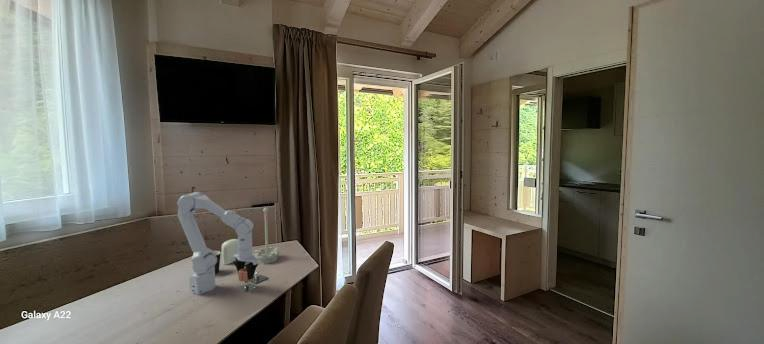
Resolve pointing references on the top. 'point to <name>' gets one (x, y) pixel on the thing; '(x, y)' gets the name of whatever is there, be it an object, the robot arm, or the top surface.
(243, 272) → the ring
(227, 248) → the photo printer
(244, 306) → the top surface
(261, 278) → the square peg base
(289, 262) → the top surface
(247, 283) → the stand
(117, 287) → the top surface
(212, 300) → the top surface
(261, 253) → the flag stand
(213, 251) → the coffee mug
